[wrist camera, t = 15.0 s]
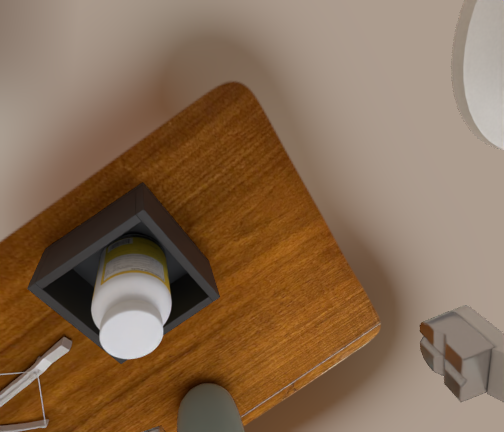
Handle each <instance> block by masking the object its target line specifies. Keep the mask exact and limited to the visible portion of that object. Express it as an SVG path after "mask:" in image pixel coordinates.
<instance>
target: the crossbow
mask: <svg viewBox="0 0 504 432" xmlns="http://www.w3.org/2000/svg"><path fill="white" fill-rule="evenodd" d="M71 345H72V341H71V340H69V339H67V338H66V337H63V338H62V339H61V340H60V341H58V342H57V343H56V344H55V345H54V346H53V347H52V348H51V349H49V350H48V351H47V352H46V353H45V354H44V355H43V356H42V357H40V356H39V357H38V358H37V360H36V362H35V364H34V365H33V366H31V367H30V368H29V369H28V370H26V371H25V372H17V373H5V374H0V375H6V374H18V373H23V374H22V375H20V376H19V377H18V378H17V379H15V380H14V381H13V382H12V383H10V384H9V385H8V386H7V387H6V388H4V389H3V390H2V391H1V392H0V407H1V406H2V405H4V404H5V403H6V402H7V401H8V400H10V399H11V398H12V397H13V396H15V395H16V394H17V393H18V392H20V391H21V390H22V389H23V388H25V387H26V386H28V385H29V384H30V383H31V382H32V381H33V380H34V379H36V378H37V377H38V382H39V389H40V395H41V388H40V381H39V375H41V374H42V373H43V372H44V371H45V370H46V369H47V368H48V367H49V366H50V365H51V364H52V363H53V362H54V361H56V360H57V359H59V358H60V357H61V356H63V355H64V354H65V353H67V352H68V351H70V348H71ZM41 402H42V409H43V415H44V408H43V401H42V395H41ZM48 422H49V420H45V415H44V420H41V421H35V422H30V423H23V424H14V425H4V426H0V432H18V431H25V430H30V429H36V428H45V427H46V426H47V425H48Z"/></svg>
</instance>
